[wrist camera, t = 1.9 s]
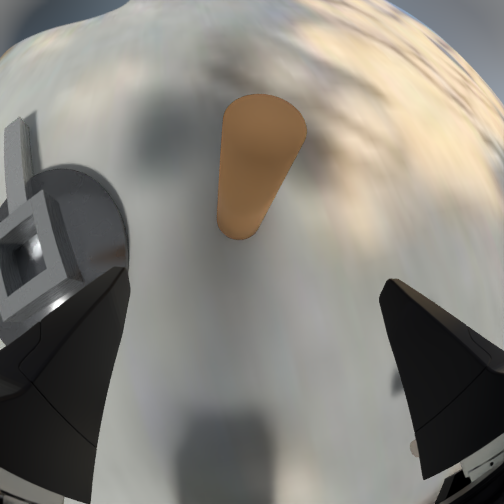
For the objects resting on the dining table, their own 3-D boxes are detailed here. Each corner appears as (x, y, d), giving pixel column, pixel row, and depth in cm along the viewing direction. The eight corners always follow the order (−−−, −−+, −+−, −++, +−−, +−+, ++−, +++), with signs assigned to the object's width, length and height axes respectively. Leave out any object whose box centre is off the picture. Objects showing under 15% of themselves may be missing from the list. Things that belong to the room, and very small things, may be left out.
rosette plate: (166, 311, 20) (155, 311, 17) (21, 388, 16) (-3, 396, 13) (80, 94, 24) (70, 72, 20) (-25, 173, 20) (-42, 160, 16)
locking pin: (248, 247, 22) (287, 172, 10) (208, 226, 22) (206, 133, 10) (267, 211, 23) (317, 116, 11) (229, 191, 23) (247, 84, 11)
